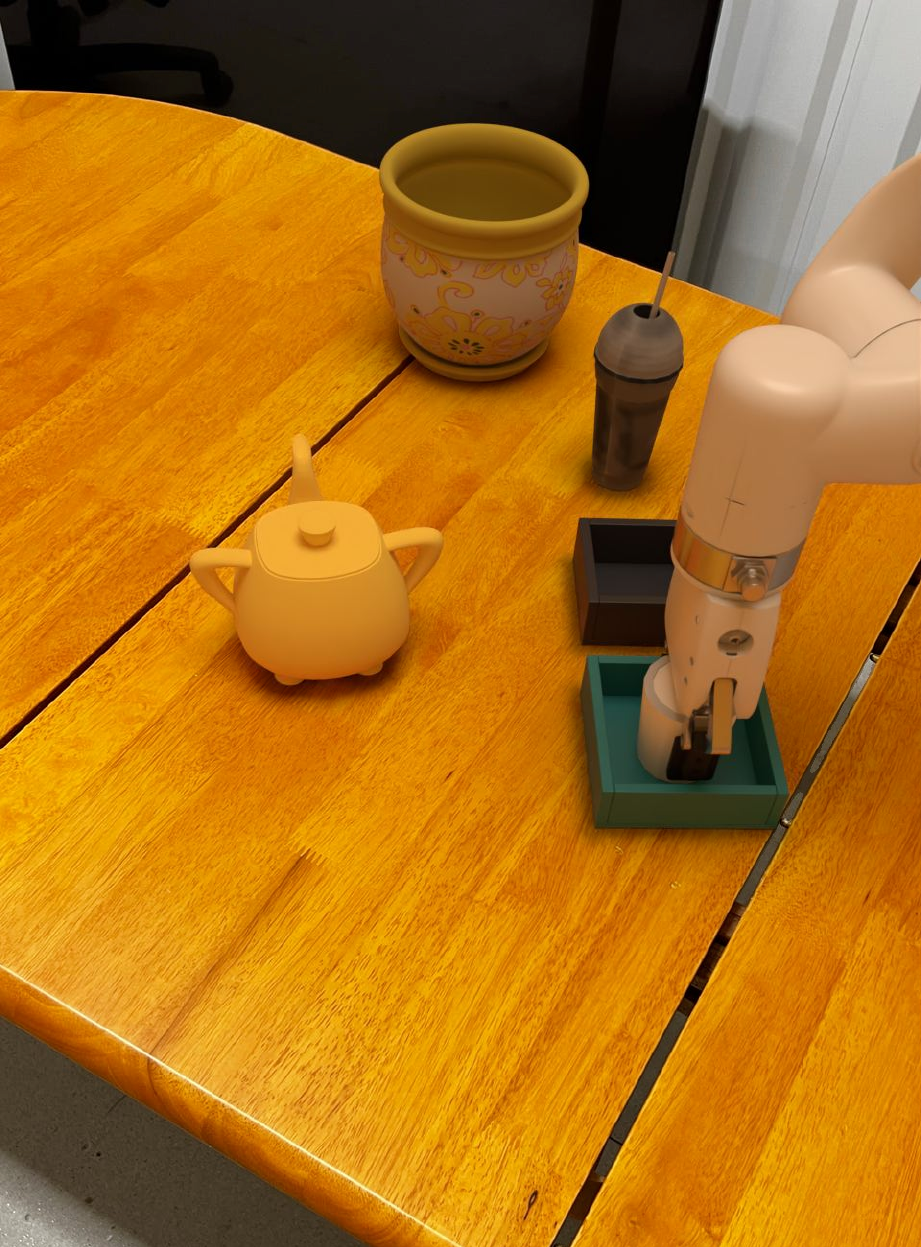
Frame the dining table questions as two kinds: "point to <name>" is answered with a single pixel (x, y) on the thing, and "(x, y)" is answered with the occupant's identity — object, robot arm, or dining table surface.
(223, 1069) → the dining table surface
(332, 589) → the teapot
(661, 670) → the white cylinder
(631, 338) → the beverage cup
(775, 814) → the teal square tray
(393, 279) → the flowerpot
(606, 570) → the bin
